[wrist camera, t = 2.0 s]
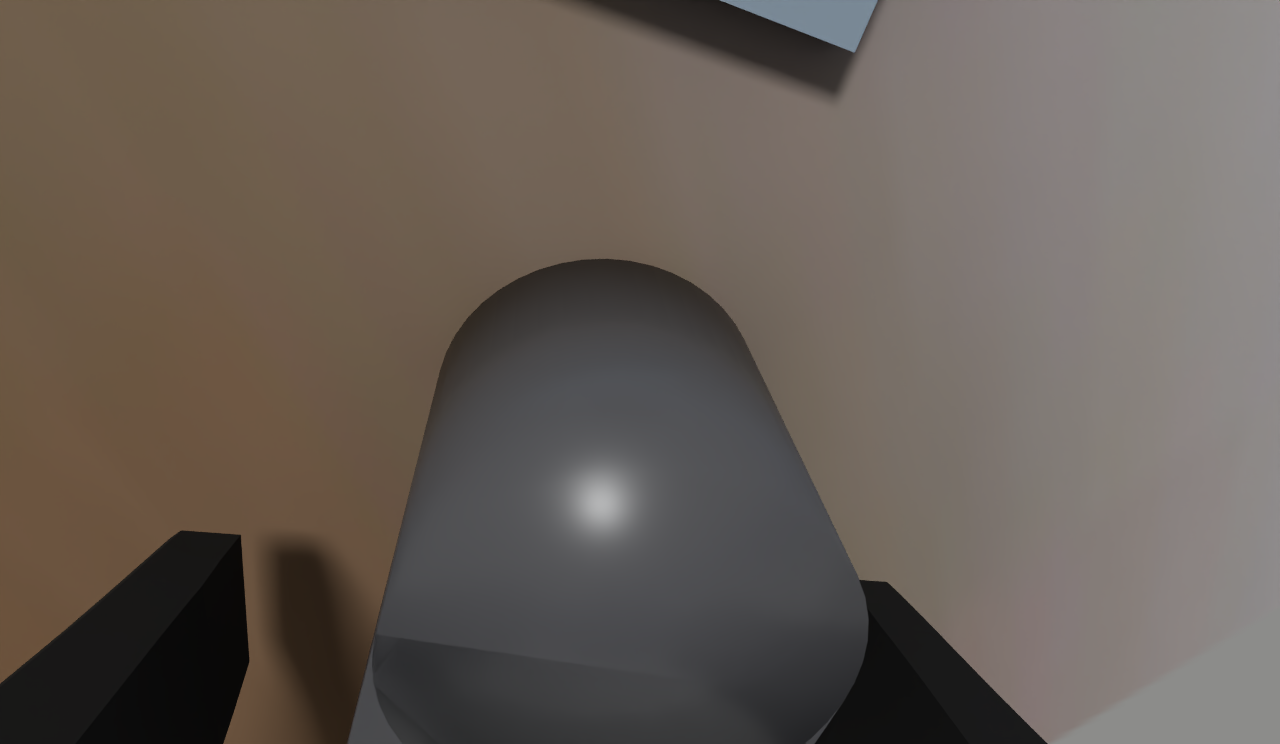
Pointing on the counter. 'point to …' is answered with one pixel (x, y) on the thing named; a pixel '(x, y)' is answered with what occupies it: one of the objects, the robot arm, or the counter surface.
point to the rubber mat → (817, 17)
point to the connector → (609, 535)
